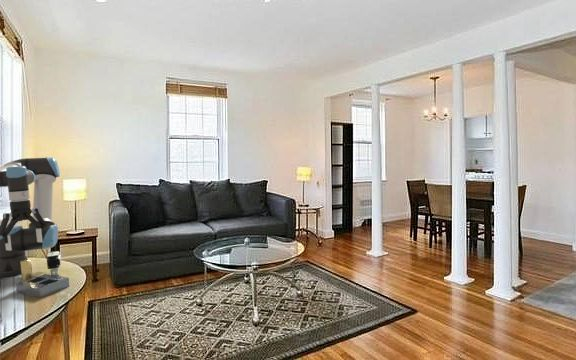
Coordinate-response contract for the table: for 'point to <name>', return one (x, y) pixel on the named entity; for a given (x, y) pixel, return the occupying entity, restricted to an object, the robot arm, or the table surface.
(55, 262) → the pneumatic valve
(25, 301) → the table surface
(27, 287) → the jig
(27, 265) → the tan rectangular block
